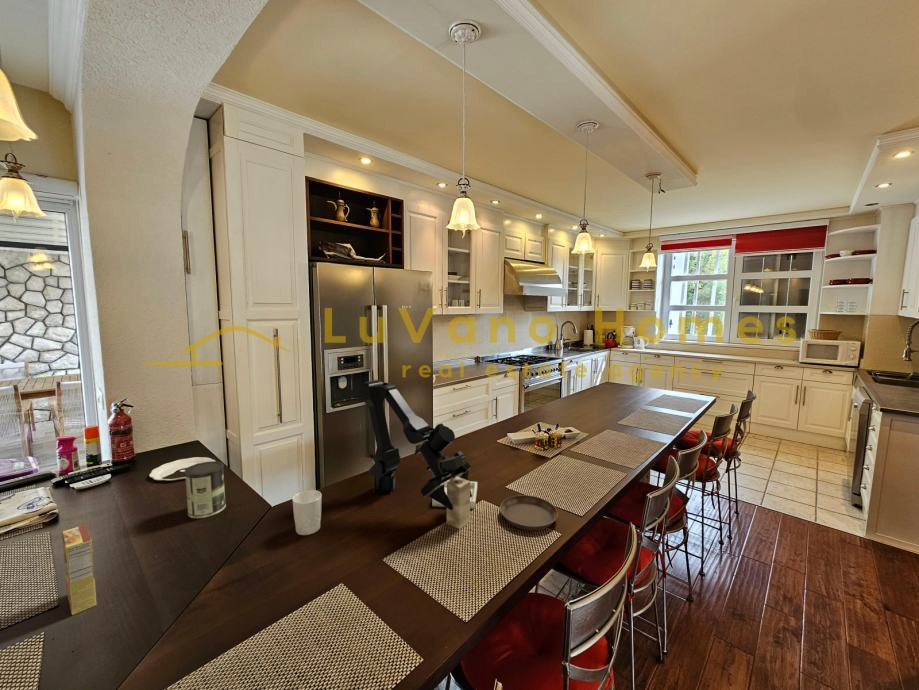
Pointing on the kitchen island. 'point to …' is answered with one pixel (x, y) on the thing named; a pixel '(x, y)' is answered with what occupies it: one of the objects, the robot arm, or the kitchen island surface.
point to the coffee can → (205, 489)
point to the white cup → (307, 511)
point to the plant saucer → (528, 512)
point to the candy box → (79, 569)
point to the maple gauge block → (458, 502)
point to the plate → (176, 467)
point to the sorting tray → (472, 500)
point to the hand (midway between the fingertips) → (461, 503)
